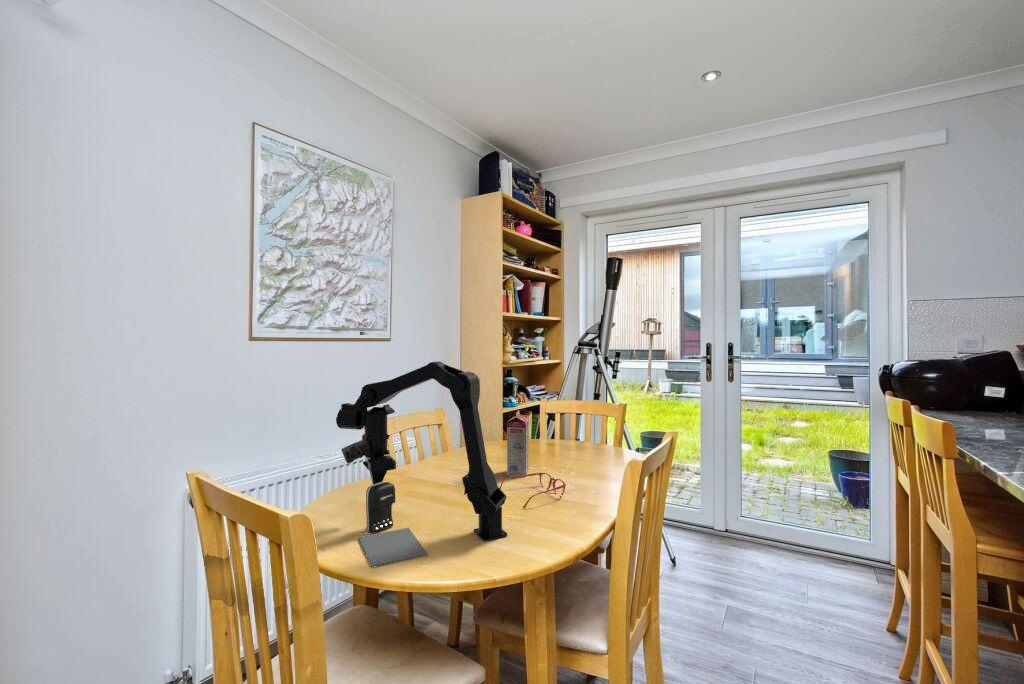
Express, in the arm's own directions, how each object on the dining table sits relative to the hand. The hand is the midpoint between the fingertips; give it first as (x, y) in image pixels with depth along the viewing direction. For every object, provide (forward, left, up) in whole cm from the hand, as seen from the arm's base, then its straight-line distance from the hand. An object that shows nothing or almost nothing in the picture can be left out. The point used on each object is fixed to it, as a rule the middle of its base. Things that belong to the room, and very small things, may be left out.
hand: (376, 489), depth 124 cm
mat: (-18, 0, -8) cm, 20 cm away
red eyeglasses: (-2, -46, -9) cm, 47 cm away
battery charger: (-7, 0, -8) cm, 11 cm away
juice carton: (+20, -53, -8) cm, 57 cm away
